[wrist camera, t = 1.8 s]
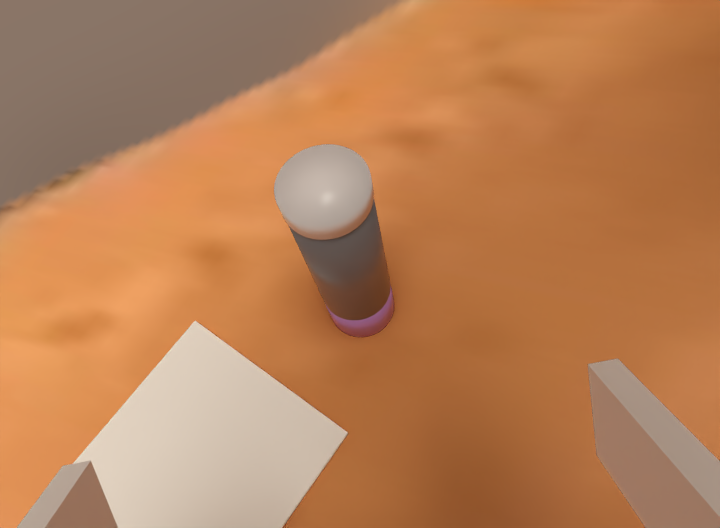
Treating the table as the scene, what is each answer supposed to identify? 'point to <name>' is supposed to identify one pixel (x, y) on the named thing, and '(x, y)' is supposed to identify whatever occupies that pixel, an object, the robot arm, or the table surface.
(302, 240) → the marker
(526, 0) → the table surface
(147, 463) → the paper
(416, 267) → the table surface
